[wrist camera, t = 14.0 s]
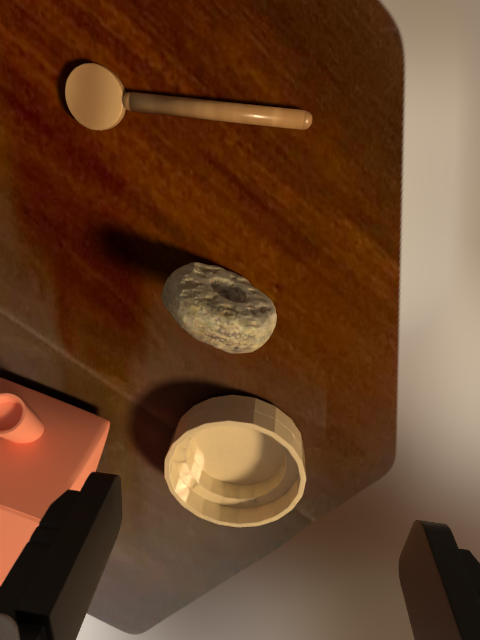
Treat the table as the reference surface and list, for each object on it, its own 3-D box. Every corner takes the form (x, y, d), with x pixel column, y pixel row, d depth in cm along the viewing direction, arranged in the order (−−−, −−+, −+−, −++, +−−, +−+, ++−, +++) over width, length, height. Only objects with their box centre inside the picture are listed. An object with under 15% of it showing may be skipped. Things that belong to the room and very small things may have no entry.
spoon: (316, 87, 33) (318, 85, 31) (306, 152, 35) (307, 153, 33) (67, 61, 33) (59, 59, 32) (72, 126, 36) (65, 127, 34)
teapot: (-31, 294, 44) (-213, 394, 27) (169, 376, 46) (109, 513, 30) (-54, 455, 54) (-195, 595, 38) (110, 515, 56) (41, 672, 40)
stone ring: (282, 294, 40) (282, 343, 31) (264, 322, 42) (259, 377, 33) (188, 244, 39) (160, 280, 30) (173, 275, 41) (142, 318, 32)
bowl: (313, 401, 45) (317, 432, 41) (292, 500, 52) (293, 535, 48) (176, 383, 46) (165, 412, 41) (173, 482, 53) (163, 516, 48)
